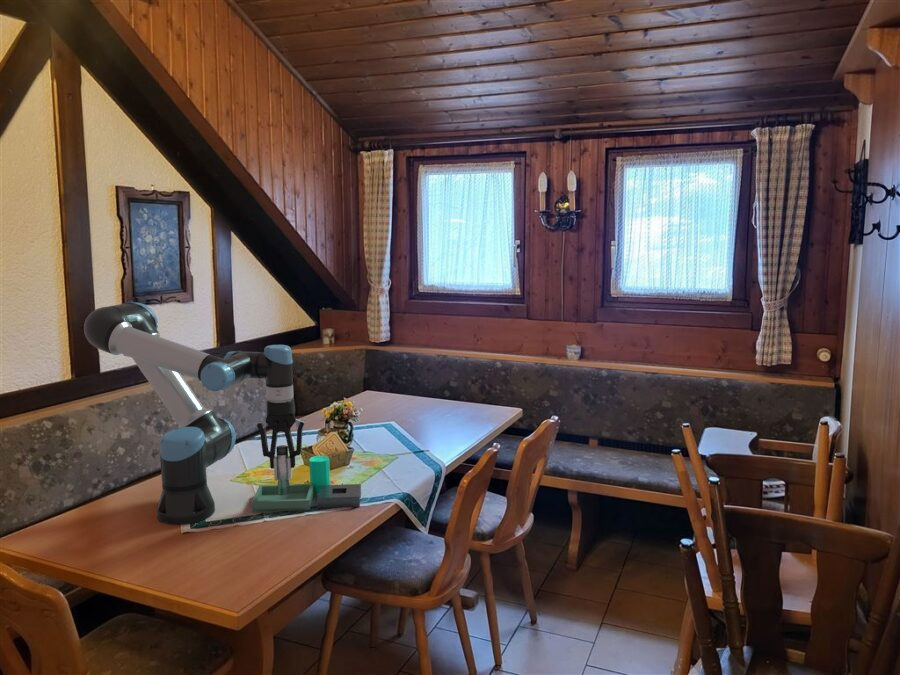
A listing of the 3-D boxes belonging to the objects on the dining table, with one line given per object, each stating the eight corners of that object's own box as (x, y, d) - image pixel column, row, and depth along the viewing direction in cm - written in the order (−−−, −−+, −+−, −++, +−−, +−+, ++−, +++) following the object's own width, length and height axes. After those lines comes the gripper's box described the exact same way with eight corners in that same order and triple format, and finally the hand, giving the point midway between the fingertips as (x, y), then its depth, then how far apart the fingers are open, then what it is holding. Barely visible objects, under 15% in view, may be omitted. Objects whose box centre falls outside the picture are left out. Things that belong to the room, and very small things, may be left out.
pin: (277, 495, 207) (275, 448, 205) (279, 491, 210) (277, 445, 208) (288, 495, 207) (286, 448, 205) (290, 491, 210) (288, 445, 208)
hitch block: (317, 508, 205) (317, 498, 205) (320, 494, 215) (320, 485, 215) (359, 506, 206) (359, 496, 206) (360, 493, 216) (360, 484, 216)
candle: (326, 496, 215) (325, 457, 213) (307, 494, 216) (305, 456, 214) (333, 488, 221) (332, 451, 219) (314, 487, 222) (313, 449, 220)
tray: (251, 512, 202) (251, 502, 202) (260, 494, 215) (259, 485, 214) (309, 510, 204) (309, 500, 203) (314, 493, 216) (313, 483, 216)
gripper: (248, 403, 200) (252, 484, 204) (307, 402, 201) (310, 482, 205) (253, 397, 207) (257, 475, 211) (310, 395, 209) (313, 473, 212)
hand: (283, 478), depth 208 cm, fingers closed on pin, 3 cm apart
